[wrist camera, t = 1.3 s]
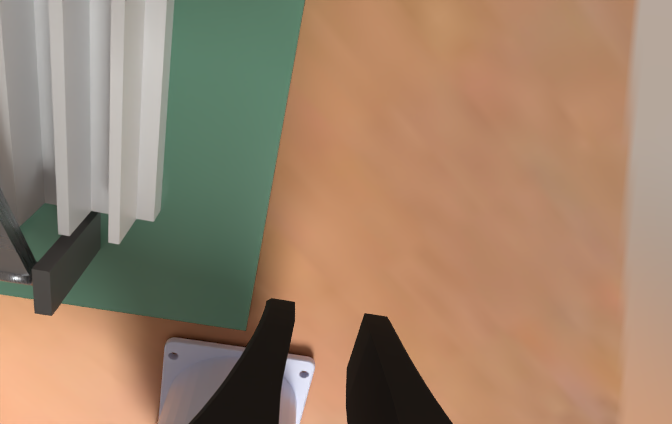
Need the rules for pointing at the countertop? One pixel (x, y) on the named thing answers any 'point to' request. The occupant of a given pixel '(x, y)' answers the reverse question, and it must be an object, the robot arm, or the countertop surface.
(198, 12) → the heatsink board
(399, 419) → the robot arm
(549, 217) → the countertop surface
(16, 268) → the long grey plank
